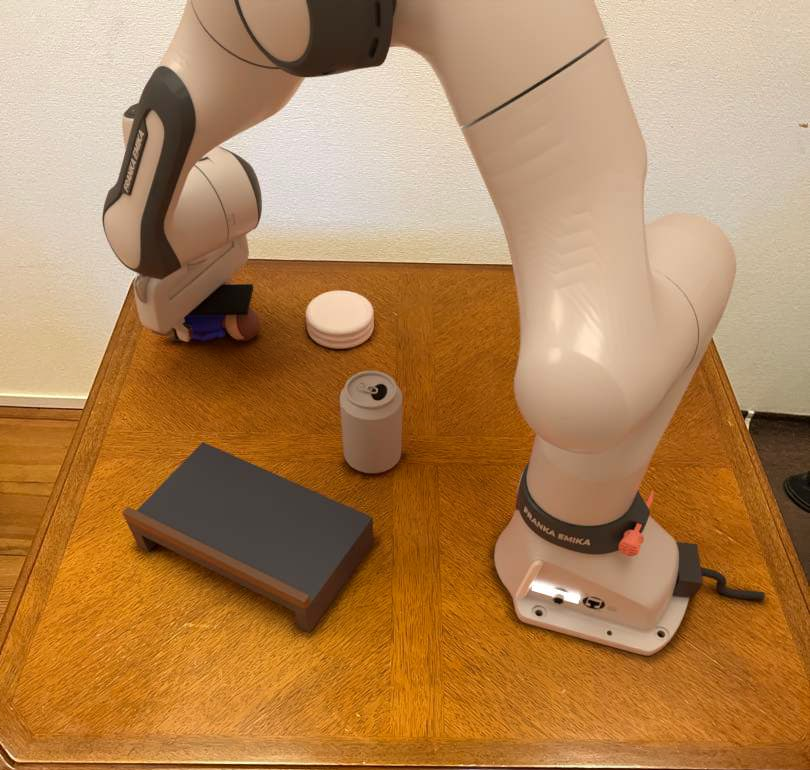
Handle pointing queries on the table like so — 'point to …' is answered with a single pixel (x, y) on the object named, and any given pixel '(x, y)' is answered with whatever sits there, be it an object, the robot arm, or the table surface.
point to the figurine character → (223, 315)
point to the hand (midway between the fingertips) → (205, 321)
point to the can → (371, 421)
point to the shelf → (255, 530)
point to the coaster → (340, 319)
